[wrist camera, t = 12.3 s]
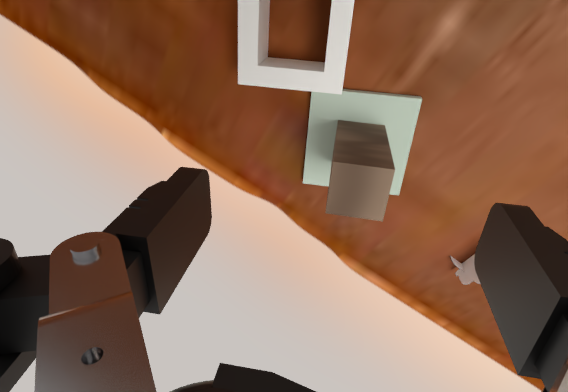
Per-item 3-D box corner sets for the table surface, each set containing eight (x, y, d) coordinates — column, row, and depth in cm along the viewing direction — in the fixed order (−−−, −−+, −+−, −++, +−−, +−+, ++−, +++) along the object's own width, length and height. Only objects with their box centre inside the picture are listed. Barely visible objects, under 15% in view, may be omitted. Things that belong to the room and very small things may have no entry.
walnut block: (384, 125, 32) (395, 169, 24) (375, 167, 34) (382, 221, 26) (337, 119, 33) (333, 161, 25) (331, 161, 34) (325, 213, 27)
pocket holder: (357, -28, 28) (358, -30, 24) (342, 82, 32) (341, 94, 28) (251, -35, 29) (238, -38, 25) (250, 73, 33) (238, 84, 29)
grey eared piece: (476, 284, 40) (489, 316, 36) (429, 250, 39) (437, 280, 35) (613, 186, 33) (649, 213, 29) (560, 142, 32) (589, 164, 28)
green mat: (420, 96, 31) (422, 99, 31) (397, 191, 36) (398, 195, 35) (312, 85, 32) (311, 88, 32) (303, 179, 37) (302, 183, 36)
